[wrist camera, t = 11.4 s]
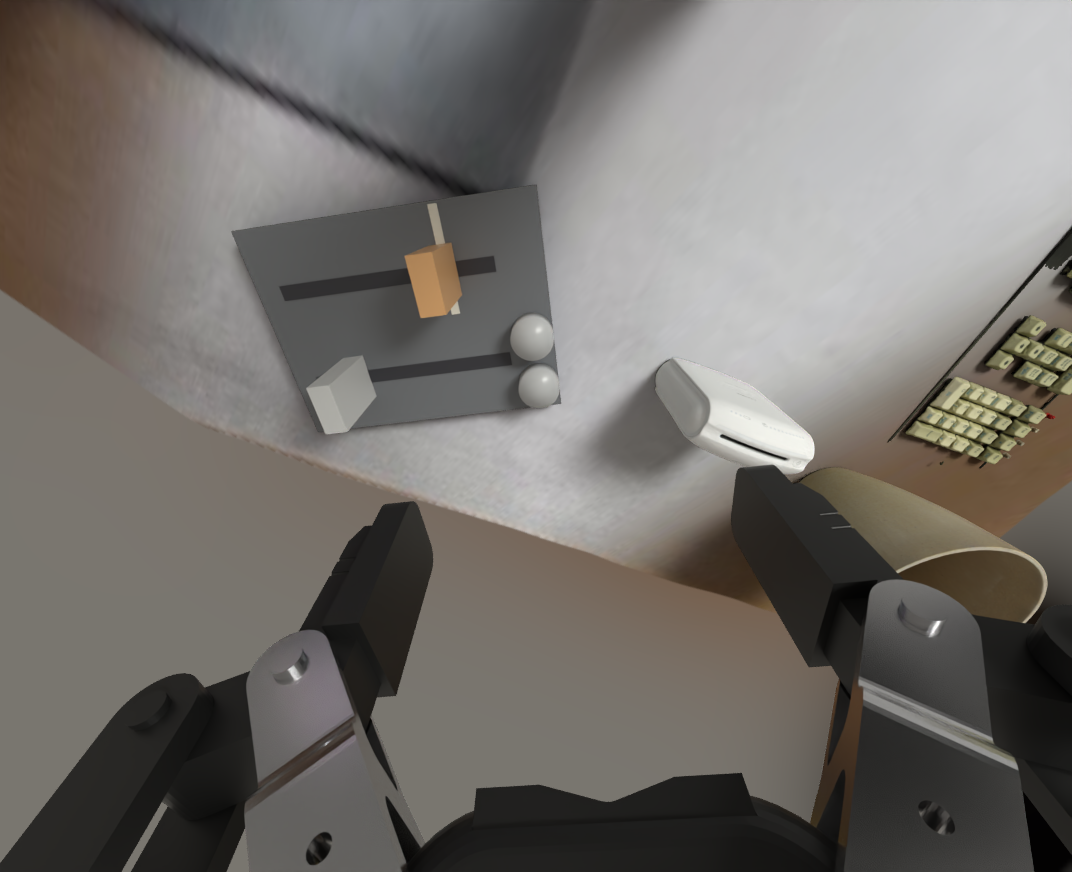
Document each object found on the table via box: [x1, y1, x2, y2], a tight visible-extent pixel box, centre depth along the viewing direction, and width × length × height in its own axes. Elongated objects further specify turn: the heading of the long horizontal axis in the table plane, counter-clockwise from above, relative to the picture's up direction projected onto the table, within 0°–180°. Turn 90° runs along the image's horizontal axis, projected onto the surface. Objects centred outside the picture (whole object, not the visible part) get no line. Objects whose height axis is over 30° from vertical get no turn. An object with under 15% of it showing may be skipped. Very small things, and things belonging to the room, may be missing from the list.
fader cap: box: [405, 242, 462, 318], centre depth 31 cm, size 4×2×7 cm, turn 8°
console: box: [231, 185, 561, 434], centre depth 34 cm, size 18×24×9 cm
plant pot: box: [799, 467, 1047, 623], centre depth 41 cm, size 15×15×16 cm
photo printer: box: [655, 358, 814, 474], centre depth 36 cm, size 10×4×12 cm, turn 69°
